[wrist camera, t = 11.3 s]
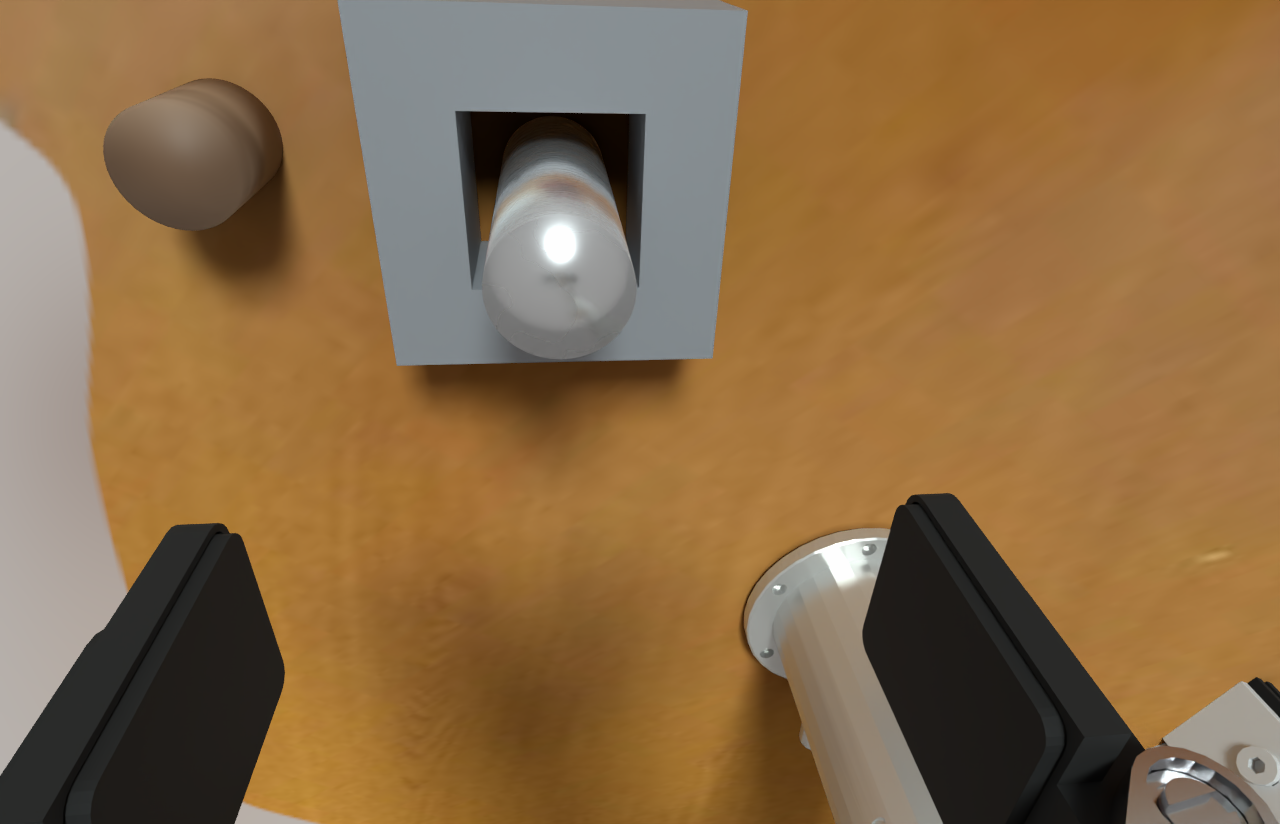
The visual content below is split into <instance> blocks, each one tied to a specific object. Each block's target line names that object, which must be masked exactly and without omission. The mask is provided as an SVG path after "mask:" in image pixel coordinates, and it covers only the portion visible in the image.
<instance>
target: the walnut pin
mask: <svg viewBox="0 0 1280 824" xmlns="http://www.w3.org/2000/svg"><path fill="white" fill-rule="evenodd" d="M103 152H104V159H105V164H106V167H107V170H108V173H109V175H110V177H111V179H112V181H113V183H114V185H115V186H116V188H117V189H118V190H119V192H120V193H121V194H122V196H123V197H124V198H125V199H126V200H127V201H128V202H129V203H130V204H131V205H132V206H133V207H134V208H135V209H137V210H138V211H139V212H141V213H142V214H144V215H145V216H147V217H148V218H150V219H152V220H154V221H156V222H158V223H160V224H163V225H165V226H168V227H172V228H175V229H181V230H191V231H195V230H204V229H209V228H212V227H215V226H217V225H219V224H221V223H223V222H224V221H225V220H227V219H228V218H229V217H230V216H231V215H232V214H234V213H235V212H236V211H237V210H238V209H239V208H240V207H241V206H242V205H243V204H245V203H246V202H247V201H248V200H249V199H250V198H251V197H252V196H253V195H254V194H256V193H257V192H258V191H259V190H260V189H261V188H262V187H263V186H264V185H265V184H267V183H268V182H269V181H270V180H271V179H272V178H273V177H274V175H275V174H276V172H277V171H278V169H279V167H280V164H281V160H282V155H283V144H282V137H281V134H280V130H279V128H278V126H277V123H276V121H275V120H274V118H273V116H272V115H271V113H270V112H269V110H268V109H267V108H266V107H265V106H264V104H263V103H262V102H261V101H260V100H259V99H257V98H256V97H255V96H254V95H253V94H251V93H250V92H249V91H247V90H245V89H244V88H242V87H240V86H238V85H236V84H233V83H231V82H228V81H224V80H219V79H210V78H209V79H199V80H194V81H191V82H189V83H186V84H184V85H181V86H179V87H177V88H174V89H172V90H170V91H167V92H165V93H162V94H160V95H158V96H155V97H153V98H150V99H148V100H146V101H143V102H141V103H139V104H136V105H134V106H131V107H129V108H127V109H126V110H124V111H122V112H121V113H120V114H118V115H117V116H116V117H115V118H114V119H113V121H112V122H111V123H110V125H109V127H108V129H107V131H106V134H105V138H104V150H103Z"/></svg>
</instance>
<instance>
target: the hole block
mask: <svg viewBox="0 0 1280 824" xmlns="http://www.w3.org/2000/svg"><path fill="white" fill-rule="evenodd" d="M338 6H339V12H340V19H341V25H342V31H343V37H344V43H345V49H346V55H347V62H348V68H349V74H350V80H351V86H352V92H353V99H354V105H355V111H356V117H357V123H358V129H359V135H360V142H361V148H362V154H363V160H364V166H365V172H366V179H367V185H368V191H369V197H370V203H371V209H372V215H373V222H374V228H375V234H376V240H377V246H378V252H379V259H380V265H381V271H382V277H383V283H384V289H385V295H386V302H387V308H388V314H389V320H390V326H391V332H392V338H393V345H394V351H395V357H396V363H397V366H401V365H444V364H488V363H531V362H575V361H618V360H662V359H705V358H712V357H713V347H714V338H715V328H716V318H717V308H718V298H719V288H720V279H721V269H722V259H723V249H724V239H725V229H726V220H727V210H728V200H729V190H730V180H731V170H732V161H733V151H734V141H735V131H736V121H737V111H738V102H739V92H740V82H741V72H742V62H743V52H744V43H745V33H746V23H747V13H748V11H747V10H744V9H741V8H738V7H736V6H733V5H730V4H728V3H725V2H722V1H719V0H338ZM470 111H491V112H555V113H618V114H629V141H628V178H627V216H626V243H627V246H628V250H629V253H630V257H631V261H632V264H633V268H634V271H635V276H636V284H637V293H636V301H635V305H634V309H633V311H632V314H631V316H630V318H629V320H628V322H627V324H626V325H625V327H624V328H623V329H622V331H621V332H620V333H619V334H618V335H617V336H616V337H615V338H614V339H613V340H612V341H611V342H610V343H608V344H607V345H606V346H604V347H602V348H601V349H599V350H597V351H595V352H593V353H591V354H588V355H585V356H582V357H577V358H572V359H549V358H543V357H539V356H535V355H532V354H530V353H527V352H525V351H523V350H521V349H519V348H517V347H516V346H514V345H513V344H512V343H510V342H509V341H508V340H507V339H505V338H504V337H503V336H502V335H501V334H500V332H499V331H498V330H497V329H496V328H495V326H494V325H493V323H492V321H491V320H490V318H489V316H488V313H487V311H486V308H485V305H484V301H483V295H482V279H483V272H484V266H485V260H486V254H487V248H488V242H489V241H481V233H480V221H479V209H478V197H477V185H476V173H475V161H474V149H473V137H472V125H471V113H470Z"/></svg>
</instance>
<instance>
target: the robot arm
mask: <svg viewBox="0 0 1280 824" xmlns="http://www.w3.org/2000/svg"><path fill="white" fill-rule="evenodd" d="M744 629H745V633H746V637H747V641H748V644H749V646H750V649H751V651H752V653H753V655H754V656H755V658H756V659H757V660H758V661H759V662H760V664H761V665H763V666H764V667H765V668H767V669H768V670H769V671H771V672H772V673H774V674H777V675H779V676H781V677H783V678H786V679H788V682H789V685H790V688H791V691H792V694H793V697H794V700H795V703H796V706H797V709H798V712H799V715H800V718H801V721H802V724H801V728H800V733H799V738H800V741H801V743H802V744H803V745H804V746H805V747H806V748H807V749H810V750H811V751H812V754H813V757H814V760H815V763H816V766H817V769H818V772H819V775H820V778H821V781H822V784H823V787H824V790H825V793H826V796H827V799H828V802H829V805H830V808H831V811H832V814H833V817H834V820H835V824H1279V823H1278V821H1277V820H1276V818H1275V816H1274V815H1273V813H1272V812H1271V810H1270V808H1269V807H1268V805H1267V804H1266V802H1265V801H1264V800H1263V799H1262V798H1261V797H1260V796H1259V795H1258V794H1257V793H1256V792H1255V791H1254V790H1253V788H1252V787H1251V786H1250V785H1249V784H1247V783H1246V782H1245V781H1244V780H1242V779H1241V778H1240V777H1238V776H1237V775H1236V774H1235V773H1233V772H1232V771H1231V770H1229V769H1228V768H1226V767H1225V766H1223V765H1221V764H1219V763H1217V762H1216V761H1214V760H1212V759H1210V758H1208V757H1207V756H1204V755H1202V754H1199V753H1196V752H1193V751H1190V750H1187V749H1185V748H1178V747H1170V746H1159V747H1153V748H1148V749H1146V750H1145V749H1144V748H1143V746H1142V745H1141V744H1140V742H1139V741H1138V740H1137V738H1136V737H1135V736H1134V734H1133V733H1132V732H1131V730H1130V729H1129V728H1128V726H1127V725H1126V724H1125V722H1124V721H1123V720H1122V718H1121V717H1120V716H1119V714H1118V713H1117V711H1116V710H1115V709H1114V707H1113V706H1112V705H1111V703H1110V702H1109V701H1108V699H1107V698H1106V697H1105V695H1104V694H1103V693H1102V691H1101V690H1100V689H1099V687H1098V686H1097V685H1096V683H1095V682H1094V681H1093V679H1092V678H1091V677H1090V675H1089V674H1088V673H1087V671H1086V670H1085V669H1084V667H1083V666H1082V665H1081V663H1080V662H1079V660H1078V659H1077V658H1076V656H1075V655H1074V654H1073V652H1072V651H1071V650H1070V648H1069V647H1068V646H1067V644H1066V643H1065V642H1064V640H1063V639H1062V638H1061V636H1060V635H1059V634H1058V632H1057V631H1056V630H1055V628H1054V627H1053V626H1052V624H1051V623H1050V622H1049V620H1048V619H1047V618H1046V616H1045V615H1044V614H1043V612H1042V611H1041V609H1040V608H1039V607H1038V605H1037V604H1036V603H1035V601H1034V600H1033V599H1032V597H1031V596H1030V595H1029V593H1028V592H1027V591H1026V590H1025V589H1024V587H1023V586H1022V584H1021V583H1020V582H1019V580H1018V579H1017V578H1016V576H1015V575H1014V574H1013V572H1012V571H1011V570H1010V568H1009V567H1008V566H1007V564H1006V563H1005V562H1004V560H1003V559H1002V558H1001V556H1000V555H999V554H998V552H997V551H996V550H995V548H994V547H993V546H992V544H991V543H990V542H989V540H988V539H987V537H986V536H985V535H984V533H983V532H982V531H981V529H980V528H979V527H978V525H977V524H976V523H975V521H974V520H973V519H972V517H971V516H970V515H969V513H968V512H967V511H966V509H965V508H964V507H963V505H962V504H961V503H960V501H959V500H958V499H957V498H956V497H955V496H954V495H952V494H950V493H944V494H920V495H912V496H911V497H910V498H909V499H908V500H907V502H906V505H900V506H899V507H898V508H897V510H896V512H895V515H894V519H893V522H892V526H891V529H884V528H860V529H854V530H847V531H841V532H837V533H834V534H830V535H827V536H824V537H821V538H818V539H816V540H814V541H811V542H809V543H807V544H805V545H803V546H800V547H799V548H797V549H796V550H794V551H792V552H791V553H789V554H788V555H786V556H784V557H783V558H782V559H781V560H779V561H778V562H777V563H776V564H775V565H774V566H772V567H771V568H770V569H769V570H768V571H767V572H766V573H765V574H764V576H763V577H762V578H761V579H760V580H759V582H758V583H757V584H756V586H755V587H754V589H753V591H752V593H751V595H750V596H749V598H748V601H747V605H746V608H745V611H744ZM284 675H285V670H284V663H283V659H282V656H281V653H280V650H279V647H278V644H277V641H276V638H275V635H274V632H273V629H272V626H271V623H270V620H269V617H268V614H267V611H266V608H265V605H264V602H263V599H262V596H261V593H260V590H259V587H258V584H257V581H256V578H255V575H254V572H253V569H252V566H251V563H250V560H249V557H248V554H247V551H246V548H245V545H244V542H243V540H242V538H241V536H240V535H239V534H236V533H229V531H228V529H227V527H226V526H225V525H224V524H220V523H212V524H188V525H176V526H173V527H171V529H170V530H169V531H168V532H167V533H166V535H165V536H164V538H163V539H162V541H161V543H160V544H159V546H158V547H157V549H156V550H155V552H154V553H153V555H152V556H151V558H150V559H149V561H148V563H147V564H146V566H145V567H144V569H143V570H142V572H141V573H140V575H139V576H138V578H137V580H136V581H135V583H134V584H133V586H132V587H131V589H130V590H129V592H128V593H127V595H126V597H125V598H124V600H123V601H122V603H121V604H120V606H119V607H118V609H117V610H116V612H115V613H114V615H113V616H112V618H111V620H110V621H109V623H108V624H107V626H106V627H105V629H104V630H102V631H100V632H99V633H97V634H96V635H95V636H94V637H93V638H92V639H91V641H90V642H89V643H88V644H87V645H86V647H85V648H84V650H83V652H82V653H81V654H80V656H79V657H78V659H77V661H76V662H75V664H74V665H73V667H72V668H71V670H70V671H69V673H68V674H67V676H66V677H65V679H64V680H63V682H62V683H61V685H60V686H59V688H58V689H57V691H56V692H55V694H54V695H53V697H52V699H51V700H50V702H49V703H48V704H47V706H46V708H45V709H44V710H43V712H42V714H41V715H40V717H39V718H38V720H37V721H36V723H35V724H34V726H33V727H32V729H31V730H30V732H29V733H28V735H27V736H26V738H25V739H24V741H23V743H22V744H21V745H20V747H19V748H18V750H17V751H16V753H15V754H14V756H13V758H12V759H11V761H10V762H9V764H8V765H7V767H6V768H5V770H4V771H3V773H2V774H1V776H0V824H234V823H235V821H236V818H237V815H238V812H239V809H240V806H241V804H242V801H243V798H244V796H245V793H246V790H247V787H248V784H249V782H250V779H251V776H252V773H253V770H254V768H255V765H256V762H257V759H258V756H259V754H260V751H261V748H262V745H263V742H264V740H265V737H266V734H267V731H268V728H269V725H270V723H271V720H272V717H273V714H274V711H275V709H276V706H277V703H278V700H279V697H280V695H281V692H282V688H283V684H284Z"/></svg>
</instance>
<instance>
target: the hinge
mask: <svg viewBox="0 0 1280 824" xmlns="http://www.w3.org/2000/svg"><path fill="white" fill-rule="evenodd" d="M1163 740H1164V741H1165V742H1166V743H1163V744H1161V745H1158V746H1155V747H1159V746H1170V747H1178V748H1185V749H1187V750H1190V751H1193V752H1196V753H1199V754H1202V755H1204V756H1207V757H1208V758H1210V759H1212V760H1214V761H1216V762H1217V763H1219V764H1221V765H1223V766H1225V767H1226V768H1228V769H1229V770H1231V771H1232V772H1233V773H1235V774H1236V775H1237V776H1238V777H1240V778H1241V779H1242V780H1244V781H1245V782H1246V783H1247V784H1249V785H1250V786H1251V787H1252V788H1253V790H1254V791H1255V792H1256V793H1257V794H1258V795H1259V796H1260V797H1261V798H1262V799H1263V800H1264V801H1265V802H1266V804H1267V805H1268V807H1269V808H1270V810H1271V812H1272V813H1273V815H1274V816H1275V818H1276V820H1277V821H1278V823H1279V824H1280V692H1279V691H1278V690H1277V689H1276V688H1275V687H1274V686H1273V685H1272V684H1271V683H1270V682H1265V683H1264V682H1263V681H1262V680H1261V679H1260V678H1257V677H1256V678H1254V679H1253V680H1252V681H1250V682H1249V683H1245V682H1242V681H1241V682H1239V683H1238V684H1237V685H1235V686H1234V687H1232V688H1231V689H1230V690H1228V691H1227V692H1225V693H1224V694H1223V695H1221V696H1220V697H1219V698H1217V699H1216V700H1214V701H1213V702H1212V703H1210V704H1209V705H1208V706H1206V707H1205V708H1203V709H1202V710H1201V711H1199V712H1198V713H1196V714H1195V715H1194V716H1192V717H1191V718H1190V719H1188V720H1187V721H1185V722H1184V723H1183V724H1181V725H1180V726H1179V727H1177V728H1176V729H1174V730H1173V731H1172V732H1170V733H1169V734H1168V735H1166V736H1165V737H1163Z"/></svg>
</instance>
